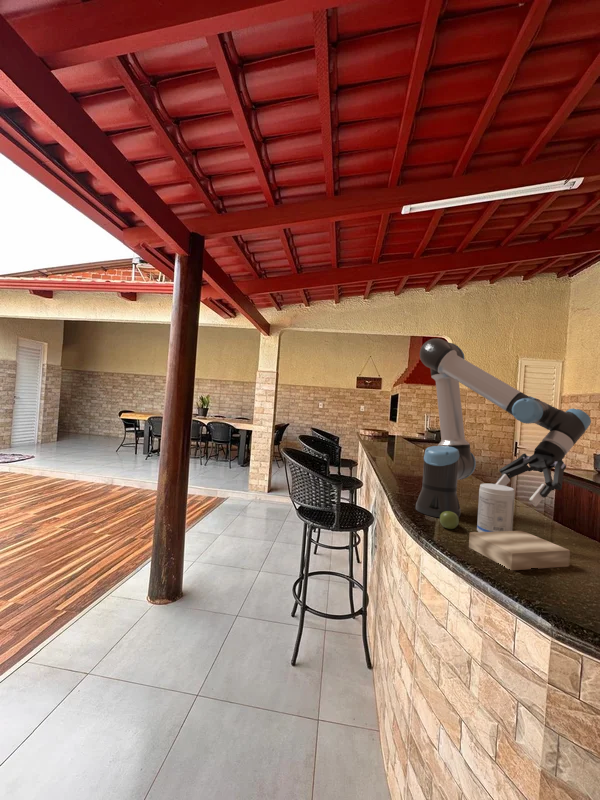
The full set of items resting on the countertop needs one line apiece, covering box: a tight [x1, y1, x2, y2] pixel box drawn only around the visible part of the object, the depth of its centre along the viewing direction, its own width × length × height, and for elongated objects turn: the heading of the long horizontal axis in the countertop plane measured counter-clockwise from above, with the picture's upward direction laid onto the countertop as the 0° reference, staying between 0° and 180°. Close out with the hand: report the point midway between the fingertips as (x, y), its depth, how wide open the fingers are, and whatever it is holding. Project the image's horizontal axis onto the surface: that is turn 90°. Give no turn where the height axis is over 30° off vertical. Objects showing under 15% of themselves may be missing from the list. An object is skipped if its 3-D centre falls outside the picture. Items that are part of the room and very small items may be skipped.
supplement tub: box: [476, 483, 515, 532], centre depth 114 cm, size 10×10×15 cm
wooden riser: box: [468, 530, 571, 571], centre depth 97 cm, size 14×18×4 cm
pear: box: [439, 511, 460, 530], centre depth 120 cm, size 6×5×10 cm
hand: (512, 497), depth 114 cm, fingers open, 13 cm apart
